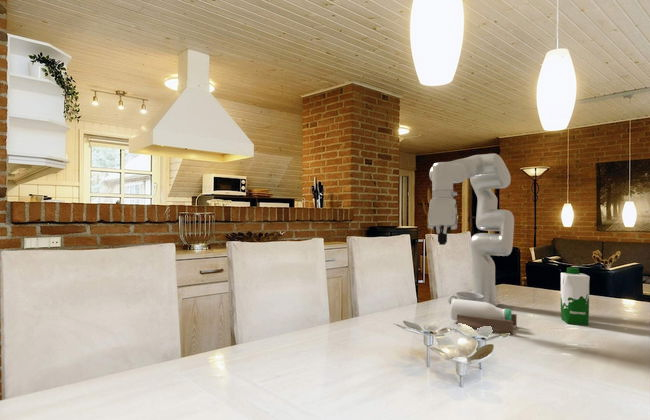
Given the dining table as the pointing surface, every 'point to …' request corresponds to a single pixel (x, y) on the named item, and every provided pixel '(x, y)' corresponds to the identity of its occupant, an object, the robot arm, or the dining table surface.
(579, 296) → the milk carton
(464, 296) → the teacup
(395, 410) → the dining table surface
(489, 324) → the cradle
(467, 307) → the milk bottle
